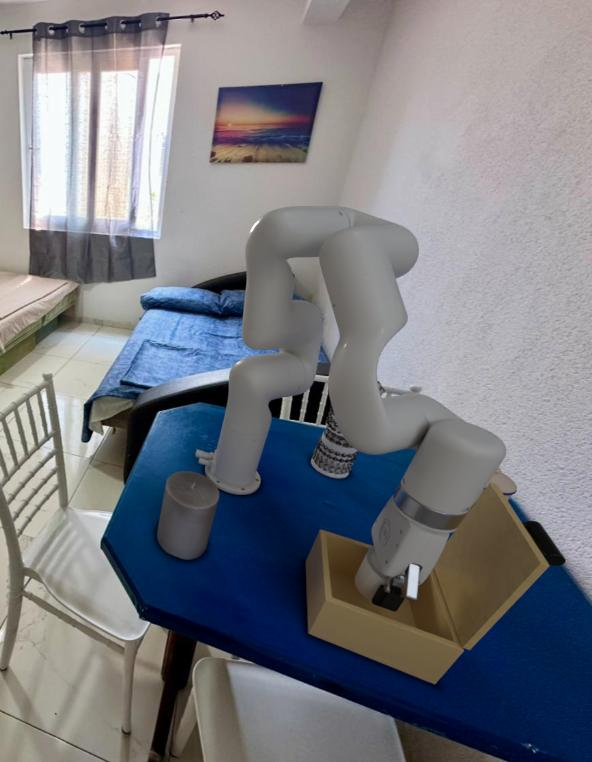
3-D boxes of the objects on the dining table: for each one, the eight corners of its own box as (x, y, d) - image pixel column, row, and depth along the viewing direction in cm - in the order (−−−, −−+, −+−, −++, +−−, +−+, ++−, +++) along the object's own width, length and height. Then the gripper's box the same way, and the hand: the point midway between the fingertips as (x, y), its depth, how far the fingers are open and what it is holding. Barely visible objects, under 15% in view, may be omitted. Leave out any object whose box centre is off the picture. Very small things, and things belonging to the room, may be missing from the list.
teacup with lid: (433, 491, 95) (457, 452, 89) (474, 495, 94) (500, 455, 89) (472, 532, 85) (501, 491, 79) (518, 536, 84) (551, 495, 78)
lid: (540, 563, 46) (599, 581, 45) (489, 482, 58) (534, 494, 57) (462, 647, 55) (509, 665, 53) (431, 562, 67) (469, 574, 65)
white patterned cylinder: (359, 474, 100) (401, 385, 88) (332, 483, 97) (372, 392, 85) (326, 452, 107) (361, 367, 95) (301, 460, 104) (333, 373, 92)
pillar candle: (189, 516, 86) (201, 461, 79) (216, 553, 78) (232, 496, 71) (148, 526, 83) (156, 470, 76) (171, 566, 75) (184, 508, 68)
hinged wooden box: (308, 633, 65) (325, 599, 61) (305, 561, 77) (320, 529, 73) (435, 684, 59) (464, 651, 55) (411, 598, 71) (433, 565, 67)
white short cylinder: (406, 613, 63) (428, 591, 59) (357, 604, 64) (375, 582, 60) (389, 571, 68) (408, 548, 64) (344, 564, 70) (360, 541, 65)
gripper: (384, 460, 64) (345, 537, 73) (410, 540, 51) (359, 625, 59) (442, 474, 62) (395, 553, 70) (486, 563, 48) (421, 648, 56)
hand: (379, 585), depth 65 cm, fingers closed on white short cylinder, 6 cm apart
